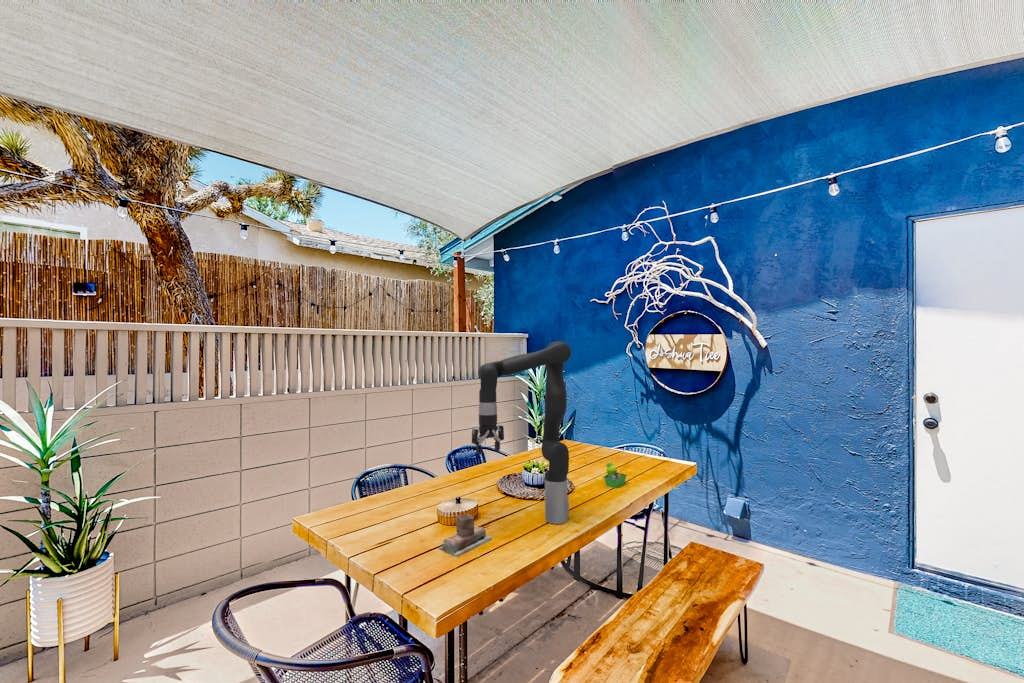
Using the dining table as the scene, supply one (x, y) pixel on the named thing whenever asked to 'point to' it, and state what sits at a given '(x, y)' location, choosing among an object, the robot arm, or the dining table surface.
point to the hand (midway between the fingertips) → (488, 452)
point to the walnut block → (465, 525)
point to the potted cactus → (614, 476)
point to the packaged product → (465, 542)
